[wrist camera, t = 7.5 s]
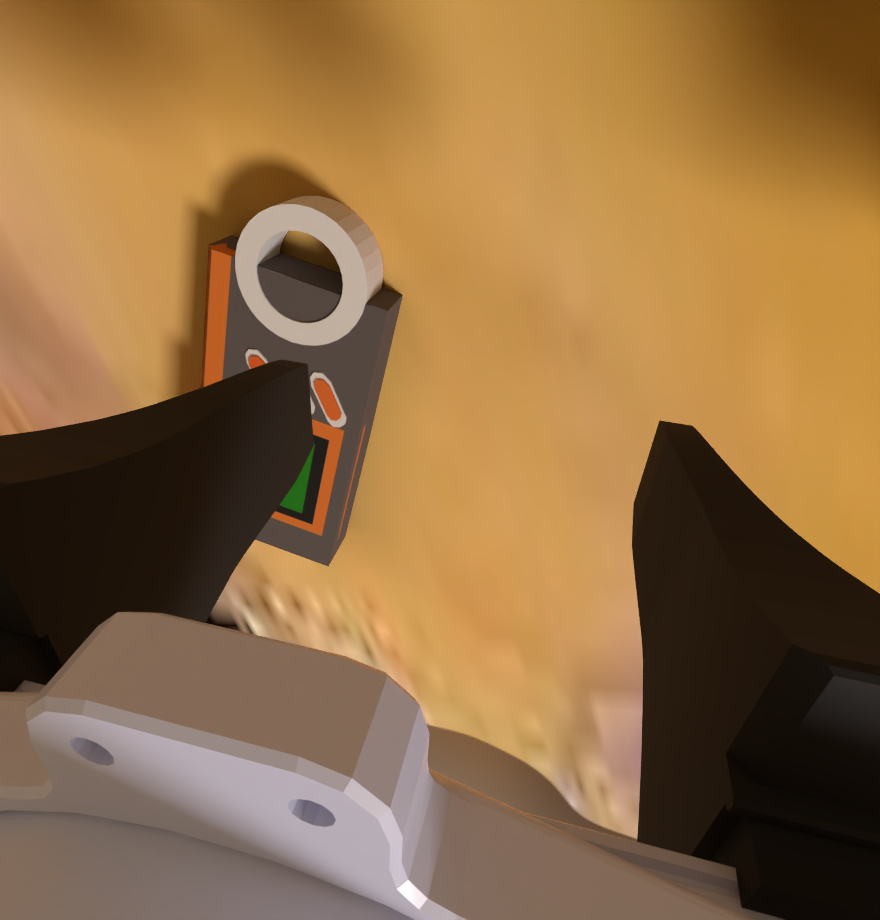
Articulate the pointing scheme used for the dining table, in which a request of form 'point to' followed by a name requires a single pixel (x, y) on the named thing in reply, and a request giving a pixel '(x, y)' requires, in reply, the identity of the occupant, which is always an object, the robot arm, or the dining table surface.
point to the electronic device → (307, 349)
